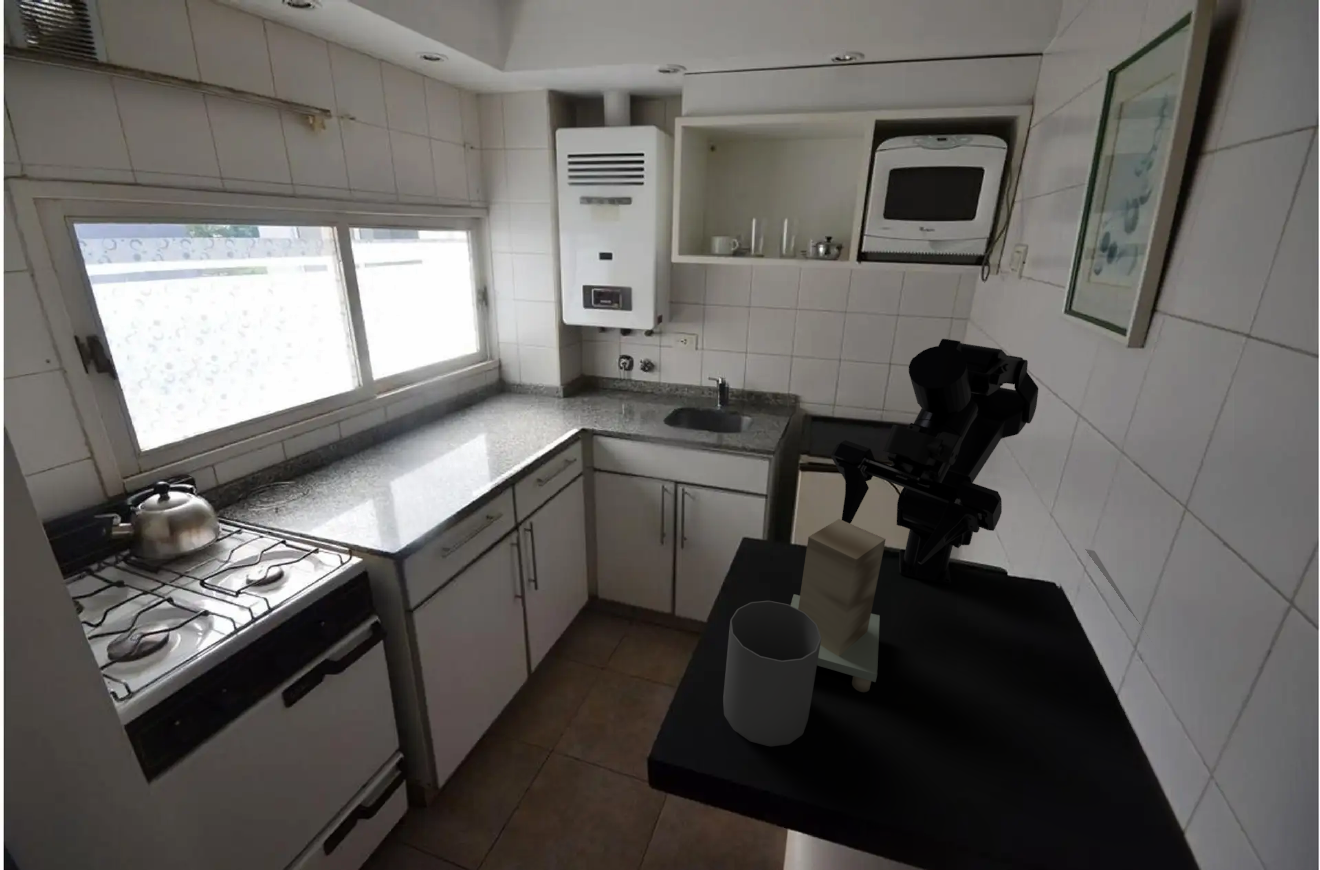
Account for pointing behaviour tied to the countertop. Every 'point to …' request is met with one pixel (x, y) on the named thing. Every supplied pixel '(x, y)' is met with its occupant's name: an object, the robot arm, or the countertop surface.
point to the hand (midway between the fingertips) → (879, 544)
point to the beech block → (840, 582)
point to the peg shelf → (854, 655)
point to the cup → (770, 672)
